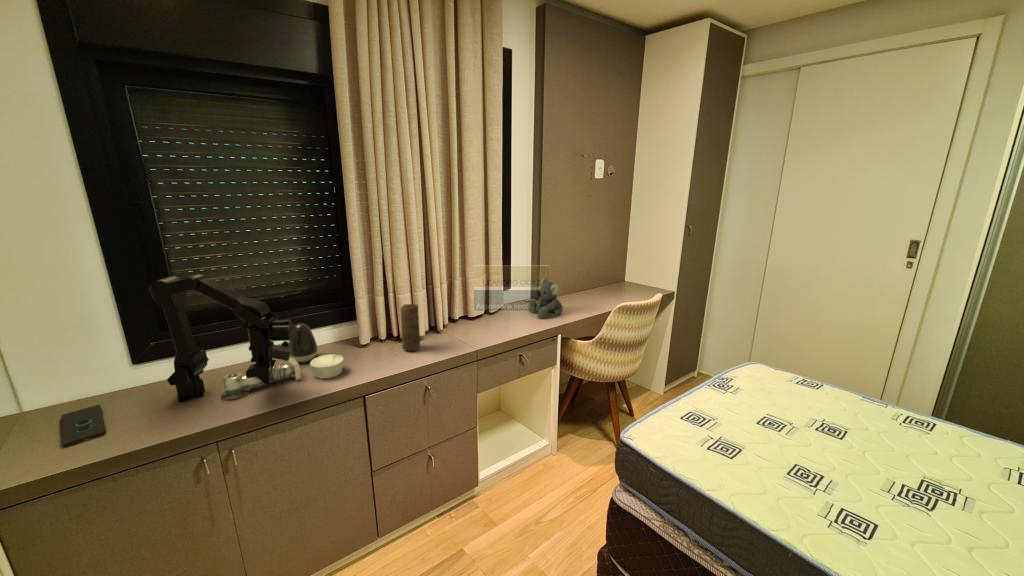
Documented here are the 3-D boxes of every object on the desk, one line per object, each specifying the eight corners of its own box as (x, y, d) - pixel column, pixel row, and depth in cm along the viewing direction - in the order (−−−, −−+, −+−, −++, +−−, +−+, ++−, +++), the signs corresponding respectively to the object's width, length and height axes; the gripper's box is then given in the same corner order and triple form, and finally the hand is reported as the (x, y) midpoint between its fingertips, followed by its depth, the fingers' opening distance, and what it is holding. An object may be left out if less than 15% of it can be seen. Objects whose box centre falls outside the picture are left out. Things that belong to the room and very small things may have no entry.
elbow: (227, 398, 126) (224, 380, 124) (224, 392, 129) (221, 374, 128) (279, 382, 136) (277, 366, 134) (275, 377, 140) (273, 361, 138)
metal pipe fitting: (223, 402, 124) (220, 385, 123) (219, 393, 130) (215, 376, 128) (301, 379, 140) (299, 364, 138) (294, 372, 145) (292, 357, 144)
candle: (415, 353, 163) (413, 308, 158) (399, 352, 164) (396, 307, 159) (423, 346, 170) (421, 303, 165) (407, 345, 171) (405, 301, 166)
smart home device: (61, 444, 101) (60, 414, 114) (63, 450, 102) (61, 419, 115) (106, 430, 107) (100, 403, 120) (107, 435, 108) (101, 408, 121)
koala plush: (526, 310, 222) (527, 277, 217) (553, 307, 229) (555, 275, 224) (540, 320, 207) (541, 284, 202) (569, 316, 214) (571, 282, 209)
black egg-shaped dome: (286, 366, 149) (281, 329, 145) (293, 355, 159) (288, 320, 155) (315, 364, 152) (311, 327, 148) (320, 353, 162) (316, 318, 158)
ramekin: (350, 371, 147) (349, 358, 145) (323, 383, 137) (321, 370, 136) (333, 364, 152) (332, 351, 151) (305, 374, 143) (303, 361, 142)
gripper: (284, 348, 120) (290, 393, 124) (292, 328, 137) (297, 368, 141) (241, 353, 116) (249, 400, 120) (255, 332, 133) (262, 373, 137)
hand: (267, 384), depth 130 cm, fingers closed
